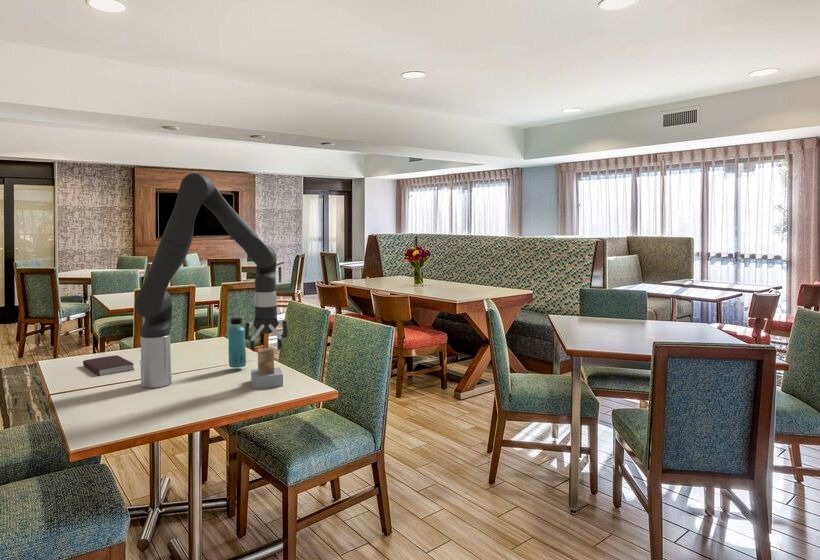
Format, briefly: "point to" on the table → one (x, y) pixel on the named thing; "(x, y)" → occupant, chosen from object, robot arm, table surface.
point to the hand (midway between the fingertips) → (266, 350)
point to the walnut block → (266, 361)
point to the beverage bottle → (236, 344)
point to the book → (108, 365)
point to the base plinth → (266, 379)
